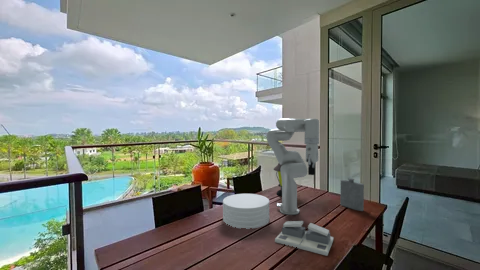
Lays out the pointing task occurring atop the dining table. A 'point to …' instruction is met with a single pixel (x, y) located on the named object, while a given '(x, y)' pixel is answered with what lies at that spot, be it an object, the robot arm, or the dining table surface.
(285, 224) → the left switch
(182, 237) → the dining table surface
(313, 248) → the panel
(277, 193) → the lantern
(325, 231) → the right switch
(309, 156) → the robot arm
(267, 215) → the plate stack
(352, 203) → the hip flask
